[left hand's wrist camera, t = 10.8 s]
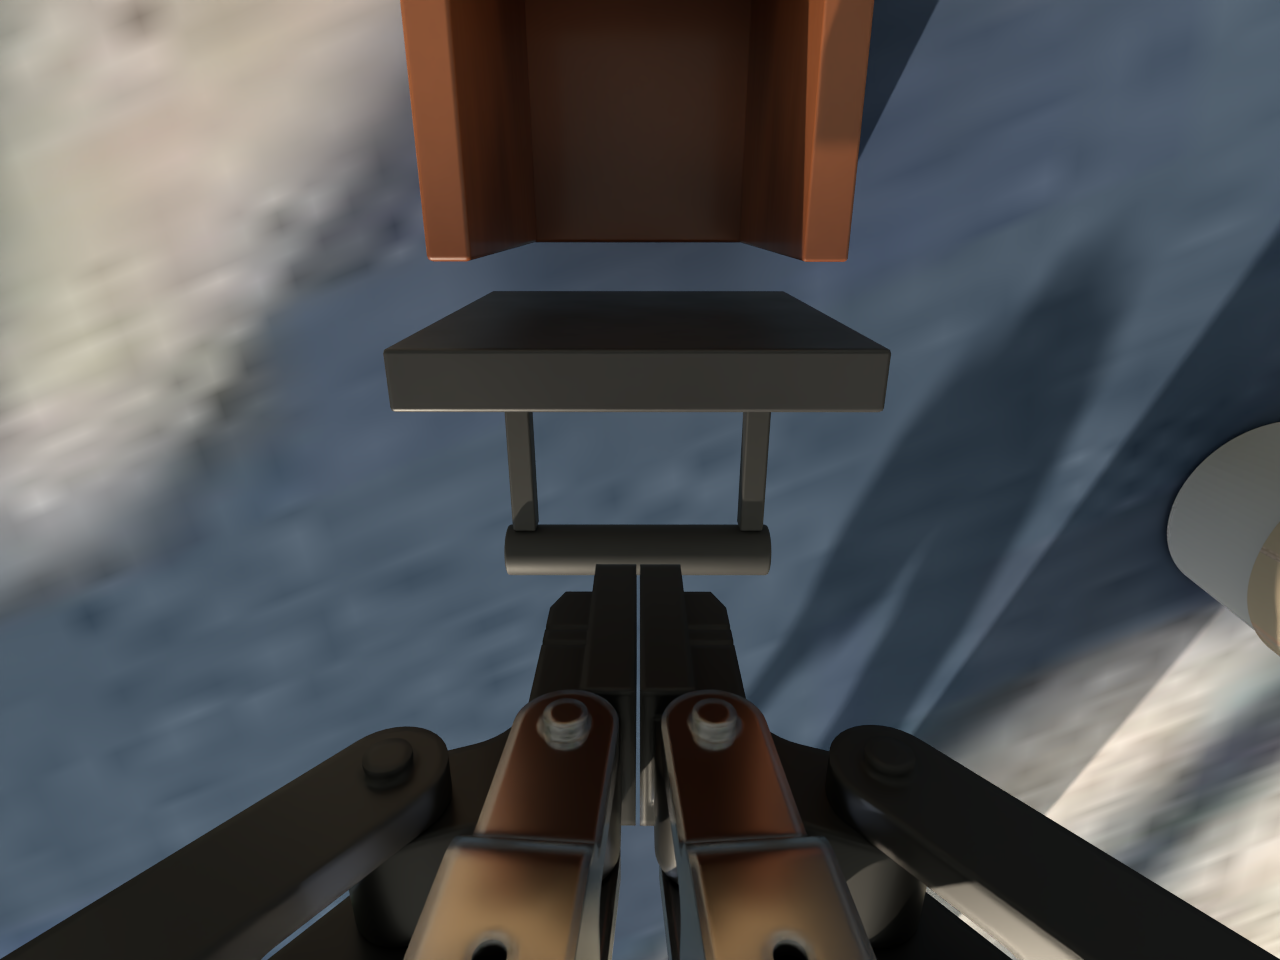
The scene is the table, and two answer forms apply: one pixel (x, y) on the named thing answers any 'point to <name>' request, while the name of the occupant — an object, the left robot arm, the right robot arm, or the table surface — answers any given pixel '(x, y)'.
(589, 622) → the left robot arm
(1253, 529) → the coffee cup
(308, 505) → the table surface
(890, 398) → the table surface
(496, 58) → the drawer
